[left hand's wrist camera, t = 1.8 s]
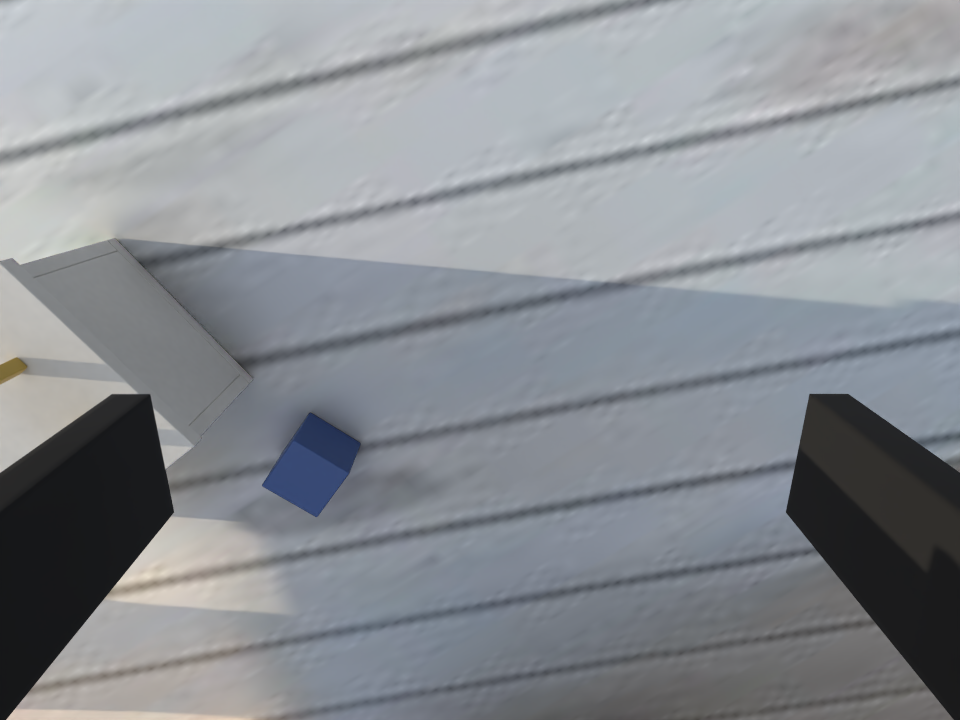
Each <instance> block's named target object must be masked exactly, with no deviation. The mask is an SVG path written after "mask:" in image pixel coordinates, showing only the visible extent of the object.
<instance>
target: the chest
mask: <svg viewBox="0 0 960 720" xmlns="http://www.w3.org/2000/svg"><path fill="white" fill-rule="evenodd" d="M20 266H21V267H22V268H23V269H24V270H26V271H27V272H28V273H29V274H30V275H31V276H32V277H33V278H34V279H35V280H36V281H37V282H38V283H39V284H40V285H41V286H42V287H43V288H44V289H46V290H47V291H48V292H49V293H50V294H51V295H52V296H53V297H54V298H55V299H56V300H57V301H58V302H59V303H60V304H61V305H62V306H63V307H64V308H66V309H67V310H68V311H69V312H70V313H71V314H72V315H73V316H74V317H75V318H76V319H77V320H78V321H79V322H80V323H81V324H82V325H83V326H84V327H86V328H87V329H88V330H89V331H90V332H91V333H92V334H93V335H94V336H95V337H96V338H97V339H98V340H99V341H100V342H101V343H102V344H103V345H104V346H106V347H107V348H108V349H109V350H110V351H111V352H112V353H113V354H114V355H115V356H116V357H117V358H118V359H119V360H120V361H121V362H122V363H123V364H124V365H126V366H127V367H128V368H129V369H130V370H131V371H132V372H133V373H134V374H135V375H136V376H137V377H138V378H139V379H140V380H141V381H142V382H143V383H144V384H146V385H147V386H148V387H149V388H150V389H151V390H152V391H153V392H154V393H155V394H156V395H157V396H158V397H159V398H160V399H161V400H162V401H163V402H164V403H166V404H167V405H168V406H169V407H170V408H171V409H172V410H173V411H174V412H175V413H176V414H177V415H178V416H179V417H180V418H181V419H182V420H183V421H184V422H186V423H187V424H188V425H189V426H190V427H191V428H192V429H193V430H194V431H195V432H196V433H197V434H198V435H199V436H201V435H202V434H203V433H204V432H205V431H206V430H207V429H208V428H209V427H210V426H211V425H212V423H213V422H214V421H215V420H216V419H217V418H218V417H219V416H220V415H221V414H222V413H223V412H224V411H225V409H226V408H227V407H228V406H229V405H230V404H231V403H232V402H233V401H234V400H235V399H236V398H237V396H238V395H239V394H240V393H241V392H242V391H243V390H244V389H245V388H246V387H247V386H248V384H250V382H251V381H252V380H253V378H252V377H251V376H250V375H249V374H248V373H247V372H246V371H245V370H244V369H243V368H242V367H241V366H240V365H239V364H238V363H237V362H236V361H235V360H234V359H233V358H232V357H231V356H230V355H229V354H228V353H227V352H226V351H225V350H224V349H223V348H222V347H221V346H220V345H219V344H218V343H217V342H216V341H215V340H214V339H213V338H212V336H211V335H210V334H209V333H208V332H207V331H206V330H205V329H204V328H203V327H202V326H201V325H200V324H199V323H198V322H197V321H196V320H195V319H194V318H193V317H192V316H191V315H190V314H189V313H188V312H187V311H186V310H185V309H184V308H183V307H182V306H181V305H180V304H179V303H178V302H177V301H176V300H175V299H174V298H173V297H172V296H171V295H170V294H169V293H168V292H167V291H166V290H165V289H164V288H163V287H162V286H161V285H160V284H159V283H158V282H157V281H156V280H155V279H154V278H153V277H152V276H151V275H150V274H149V272H148V271H147V270H146V269H145V268H144V267H143V266H142V265H141V264H140V263H139V262H138V261H137V260H136V259H135V258H134V257H133V256H132V255H131V254H130V253H129V252H128V251H127V250H126V249H125V248H124V247H123V246H122V245H121V244H120V243H119V242H118V241H117V240H116V239H115V238H113V239H110V240H107V241H103V242H99V243H96V244H92V245H89V246H85V247H82V248H78V249H75V250H71V251H68V252H64V253H61V254H57V255H53V256H50V257H46V258H43V259H39V260H36V261H32V262H29V263H25V264H22V265H20Z"/></svg>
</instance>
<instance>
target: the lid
mask: <svg viewBox="0 0 960 720" xmlns="http://www.w3.org/2000/svg"><path fill="white" fill-rule="evenodd" d="M111 394H150V395H151V400H152V405H153V410H154V415H155V420H156V425H157V430H158V435H159V440H160V445H161V450H162V455H163V460H164V465H165V470H166V469H167V468H168V467H170V466H171V465H172V464H173V463H175V462H176V461H177V460H178V459H180V458H181V457H182V456H183V455H185V454H186V453H187V452H188V451H190V450H191V449H192V448H193V447H195V445H196V444H197V443H198V442H199V441H200V440H201V439H202V438H201V437H200V436H199V435H198V434H197V433H196V432H195V431H194V430H193V429H192V428H191V427H190V426H189V425H188V424H187V423H186V422H184V421H183V420H182V419H181V418H180V417H179V416H178V415H177V414H176V413H175V412H174V411H173V410H172V409H171V408H170V407H169V406H168V405H167V404H166V403H164V402H163V401H162V400H161V399H160V398H159V397H158V396H157V395H156V394H155V393H154V392H153V391H152V390H151V389H150V388H149V387H148V386H147V385H146V384H144V383H143V382H142V381H141V380H140V379H139V378H138V377H137V376H136V375H135V374H134V373H133V372H132V371H131V370H130V369H129V368H128V367H127V366H126V365H124V364H123V363H122V362H121V361H120V360H119V359H118V358H117V357H116V356H115V355H114V354H113V353H112V352H111V351H110V350H109V349H108V348H107V347H106V346H104V345H103V344H102V343H101V342H100V341H99V340H98V339H97V338H96V337H95V336H94V335H93V334H92V333H91V332H90V331H89V330H88V329H87V328H86V327H84V326H83V325H82V324H81V323H80V322H79V321H78V320H77V319H76V318H75V317H74V316H73V315H72V314H71V313H70V312H69V311H68V310H67V309H66V308H64V307H63V306H62V305H61V304H60V303H59V302H58V301H57V300H56V299H55V298H54V297H53V296H52V295H51V294H50V293H49V292H48V291H47V290H46V289H44V288H43V287H42V286H41V285H40V284H39V283H38V282H37V281H36V280H35V279H34V278H33V277H32V276H31V275H30V274H29V273H28V272H27V271H26V270H24V269H23V268H22V267H21V266H20V265H19V264H18V263H17V262H16V261H15V260H14V259H13V258H11V259H7V260H3V261H0V473H1V472H2V471H3V470H5V469H6V468H8V467H9V466H10V465H12V464H13V463H15V462H16V461H18V460H19V459H20V458H22V457H23V456H25V455H26V454H28V453H29V452H30V451H32V450H33V449H35V448H36V447H37V446H39V445H40V444H42V443H43V442H45V441H46V440H47V439H49V438H50V437H52V436H53V435H54V434H56V433H57V432H59V431H60V430H62V429H63V428H64V427H66V426H67V425H69V424H70V423H71V422H73V421H74V420H76V419H77V418H79V417H80V416H81V415H83V414H84V413H86V412H87V411H89V410H90V409H91V408H93V407H94V406H96V405H97V404H98V403H100V402H101V401H103V400H104V399H106V398H107V397H108V396H110V395H111Z"/></svg>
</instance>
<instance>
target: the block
mask: <svg viewBox="0 0 960 720" xmlns="http://www.w3.org/2000/svg"><path fill="white" fill-rule="evenodd" d="M359 447H360V443H359V442H358V441H356V440H355V439H353V438H351V437H350V436H348V435H346V434H345V433H343V432H341V431H340V430H338V429H336V428H335V427H333V426H332V425H330V424H328V423H327V422H325V421H323V420H322V419H320V418H318V417H317V416H315V415H314V414H312V413H309V414H308V416H307V417H306V419H305V420H304V422H303V423H302V425H301V426H300V428H299V429H298V430H297V432H296V433H295V435H294V436H293V438H292V439H291V441H290V442H289V444H288V445H287V447H286V448H285V450H284V451H283V452H282V454H281V455H280V457H279V459H278V460H277V462H276V464H275V465H274V467H273V468H272V470H271V472H270V473H269V475H268V476H267V478H266V480H265V481H264V483H263V484H262V486H263V487H265V488H266V489H268V490H270V491H272V492H273V493H275V494H277V495H279V496H280V497H282V498H284V499H286V500H287V501H289V502H291V503H292V504H294V505H296V506H298V507H299V508H301V509H303V510H305V511H306V512H308V513H310V514H312V515H313V516H315V517H317V516H318V515H319V514H320V513H321V511H322V510H323V508H324V507H325V506H326V504H327V503H328V502H329V500H330V499H331V498H332V496H333V495H334V493H335V492H336V491H337V489H338V488H339V487H340V485H341V484H342V483H343V481H344V480H345V478H346V477H347V476H348V474H349V472H350V470H351V467H352V465H353V462H354V460H355V457H356V454H357V452H358V449H359Z"/></svg>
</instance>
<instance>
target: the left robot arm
mask: <svg viewBox="0 0 960 720" xmlns="http://www.w3.org/2000/svg"><path fill="white" fill-rule="evenodd" d="M173 513H174V510H173V505H172V500H171V495H170V490H169V485H168V480H167V475H166V470H165V465H164V460H163V455H162V450H161V445H160V440H159V435H158V430H157V425H156V420H155V415H154V410H153V405H152V400H151V395H150V394H111V395H110V396H108V397H107V398H106V399H104V400H103V401H101V402H100V403H98V404H97V405H96V406H94V407H93V408H91V409H90V410H89V411H87V412H86V413H84V414H83V415H81V416H80V417H79V418H77V419H76V420H74V421H73V422H71V423H70V424H69V425H67V426H66V427H64V428H63V429H62V430H60V431H59V432H57V433H56V434H54V435H53V436H52V437H50V438H49V439H47V440H46V441H45V442H43V443H42V444H40V445H39V446H37V447H36V448H35V449H33V450H32V451H30V452H29V453H28V454H26V455H25V456H23V457H22V458H20V459H19V460H18V461H16V462H15V463H13V464H12V465H10V466H9V467H8V468H6V469H5V470H3V471H2V472H1V473H0V720H6V719H7V718H8V717H9V715H10V714H11V713H12V712H13V710H14V709H15V708H16V707H17V706H18V704H19V703H20V702H21V701H22V699H23V698H24V697H25V696H26V694H27V693H28V692H29V691H30V689H31V688H32V687H33V686H34V685H35V683H36V682H37V681H38V680H39V678H40V677H41V676H42V675H43V673H44V672H45V671H46V670H47V669H48V667H49V666H50V665H51V664H52V662H53V661H54V660H55V659H56V657H57V656H58V655H59V654H60V652H61V651H62V650H63V649H64V648H65V646H66V645H67V644H68V643H69V641H70V640H71V639H72V638H73V636H74V635H75V634H76V633H77V631H78V630H79V629H80V628H81V627H82V625H83V624H84V623H85V622H86V620H87V619H88V618H89V617H90V615H91V614H92V613H93V612H94V610H95V609H96V608H97V607H98V606H99V604H100V603H101V602H102V601H103V599H104V598H105V597H106V596H107V594H108V593H109V592H110V591H111V589H112V588H113V587H114V586H115V585H116V583H117V582H118V581H119V580H120V578H121V577H122V576H123V575H124V573H125V572H126V571H127V570H128V569H129V567H130V566H131V565H132V564H133V562H134V561H135V560H136V559H137V557H138V556H139V555H140V554H141V552H142V551H143V550H144V549H145V548H146V546H147V545H148V544H149V543H150V541H151V540H152V539H153V538H154V536H155V535H156V534H157V533H158V531H159V530H160V529H161V528H162V527H163V525H164V524H165V523H166V522H167V520H168V519H169V518H170V517H171V515H172V514H173ZM786 513H787V514H788V515H789V517H790V518H791V519H792V520H793V522H794V523H795V524H796V525H797V527H798V528H799V529H800V530H801V531H802V533H803V534H804V535H805V536H806V538H807V539H808V540H809V541H810V543H811V544H812V545H813V546H814V548H815V549H816V550H817V551H818V552H819V554H820V555H821V556H822V557H823V559H824V560H825V561H826V562H827V564H828V565H829V566H830V567H831V569H832V570H833V571H834V572H835V573H836V575H837V576H838V577H839V578H840V580H841V581H842V582H843V583H844V585H845V586H846V587H847V588H848V589H849V591H850V592H851V593H852V594H853V596H854V597H855V598H856V599H857V601H858V602H859V603H860V604H861V606H862V607H863V608H864V609H865V610H866V612H867V613H868V614H869V615H870V617H871V618H872V619H873V620H874V622H875V623H876V624H877V625H878V627H879V628H880V629H881V630H882V631H883V633H884V634H885V635H886V636H887V638H888V639H889V640H890V641H891V643H892V644H893V645H894V646H895V648H896V649H897V650H898V651H899V652H900V654H901V655H902V656H903V657H904V659H905V660H906V661H907V662H908V664H909V665H910V666H911V667H912V669H913V670H914V671H915V672H916V673H917V675H918V676H919V677H920V678H921V680H922V681H923V682H924V683H925V685H926V686H927V687H928V688H929V689H930V691H931V692H932V693H933V694H934V696H935V697H936V698H937V699H938V701H939V702H940V703H941V704H942V706H943V707H944V708H945V709H946V710H947V712H948V713H949V714H950V715H951V717H952V718H953V719H954V720H960V473H959V472H958V471H957V470H955V469H954V468H952V467H951V466H950V465H948V464H947V463H945V462H944V461H942V460H941V459H940V458H938V457H937V456H935V455H934V454H932V453H931V452H930V451H928V450H927V449H925V448H924V447H923V446H921V445H920V444H918V443H917V442H915V441H914V440H913V439H911V438H910V437H908V436H907V435H906V434H904V433H903V432H901V431H900V430H898V429H897V428H896V427H894V426H893V425H891V424H890V423H889V422H887V421H886V420H884V419H883V418H881V417H880V416H879V415H877V414H876V413H874V412H873V411H871V410H870V409H869V408H867V407H866V406H864V405H863V404H862V403H860V402H859V401H857V400H856V399H854V398H853V397H852V396H850V395H849V394H810V395H809V400H808V405H807V410H806V415H805V420H804V425H803V430H802V435H801V440H800V445H799V450H798V455H797V460H796V465H795V470H794V475H793V480H792V485H791V490H790V495H789V500H788V505H787V510H786Z"/></svg>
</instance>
